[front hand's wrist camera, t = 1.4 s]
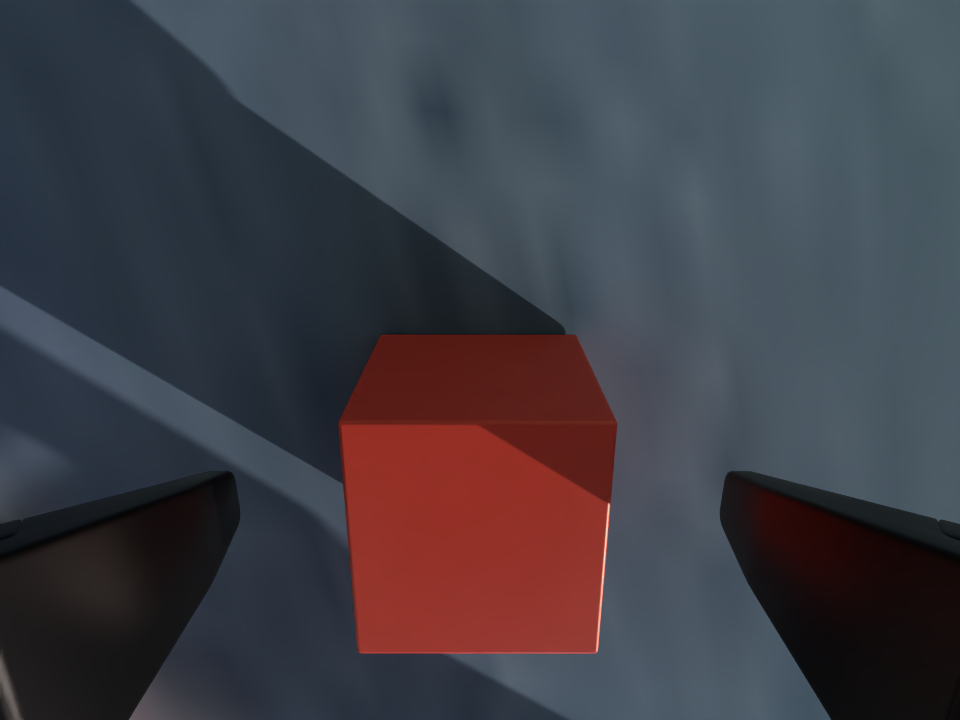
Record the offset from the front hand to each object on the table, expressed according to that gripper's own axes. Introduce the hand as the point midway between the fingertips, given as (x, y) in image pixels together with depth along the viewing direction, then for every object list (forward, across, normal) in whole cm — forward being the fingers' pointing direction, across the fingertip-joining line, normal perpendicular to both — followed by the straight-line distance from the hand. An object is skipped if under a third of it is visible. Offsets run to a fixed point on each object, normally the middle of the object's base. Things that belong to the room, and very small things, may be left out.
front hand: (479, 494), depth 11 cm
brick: (+3, 0, 0) cm, 3 cm away
